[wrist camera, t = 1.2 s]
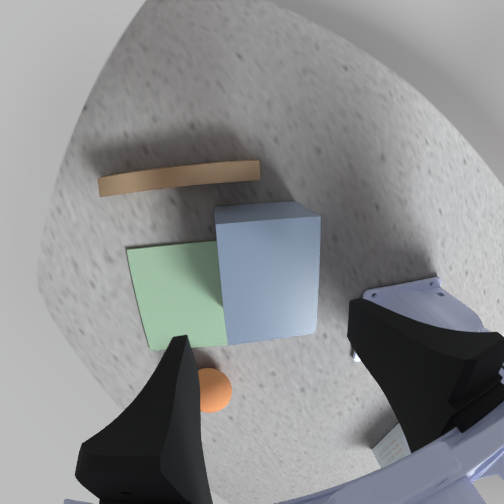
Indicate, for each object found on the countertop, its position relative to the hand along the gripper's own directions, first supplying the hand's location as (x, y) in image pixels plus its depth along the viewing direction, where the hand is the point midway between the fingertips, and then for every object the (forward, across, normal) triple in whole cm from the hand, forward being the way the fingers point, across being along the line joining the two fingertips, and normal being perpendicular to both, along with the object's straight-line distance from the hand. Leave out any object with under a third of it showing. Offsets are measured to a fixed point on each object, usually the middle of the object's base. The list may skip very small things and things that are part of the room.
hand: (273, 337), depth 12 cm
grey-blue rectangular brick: (+10, -1, 0) cm, 10 cm away
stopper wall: (+10, +3, -6) cm, 13 cm away
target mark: (+10, +4, +3) cm, 11 cm away
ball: (+8, +4, +11) cm, 14 cm away
